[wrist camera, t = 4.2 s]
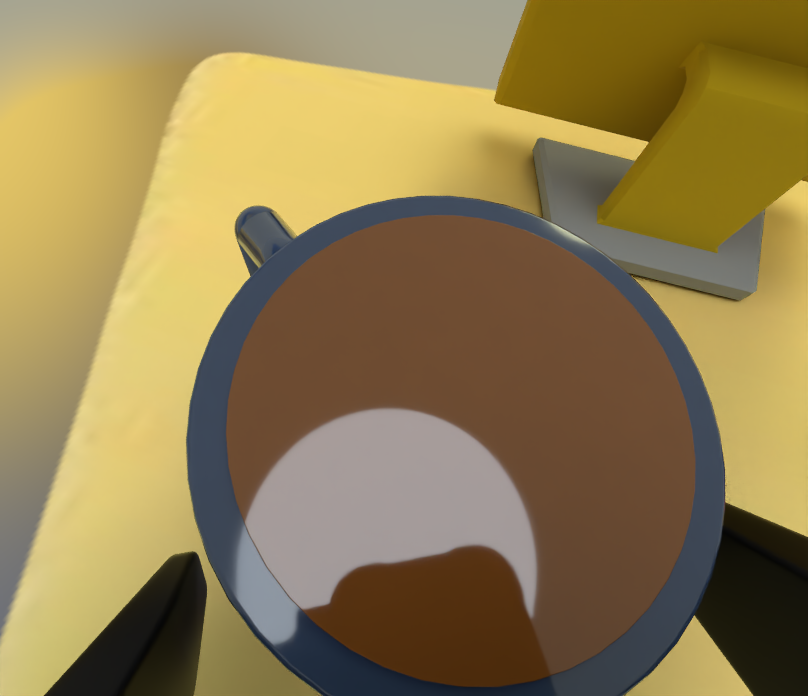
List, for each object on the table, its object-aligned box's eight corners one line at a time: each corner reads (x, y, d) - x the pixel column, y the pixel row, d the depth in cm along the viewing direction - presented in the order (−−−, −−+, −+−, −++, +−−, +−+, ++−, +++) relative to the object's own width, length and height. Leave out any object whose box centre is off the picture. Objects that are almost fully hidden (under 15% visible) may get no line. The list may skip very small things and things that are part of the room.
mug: (521, 507, 17) (827, 447, 6) (375, 650, 15) (448, 974, 4) (363, 319, 20) (380, 37, 9) (216, 415, 17) (-19, 196, 6)
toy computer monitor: (800, 212, 27) (1322, -170, 12) (825, 323, 23) (1572, -19, 9) (481, 132, 26) (638, -354, 12) (461, 234, 23) (642, -266, 9)
